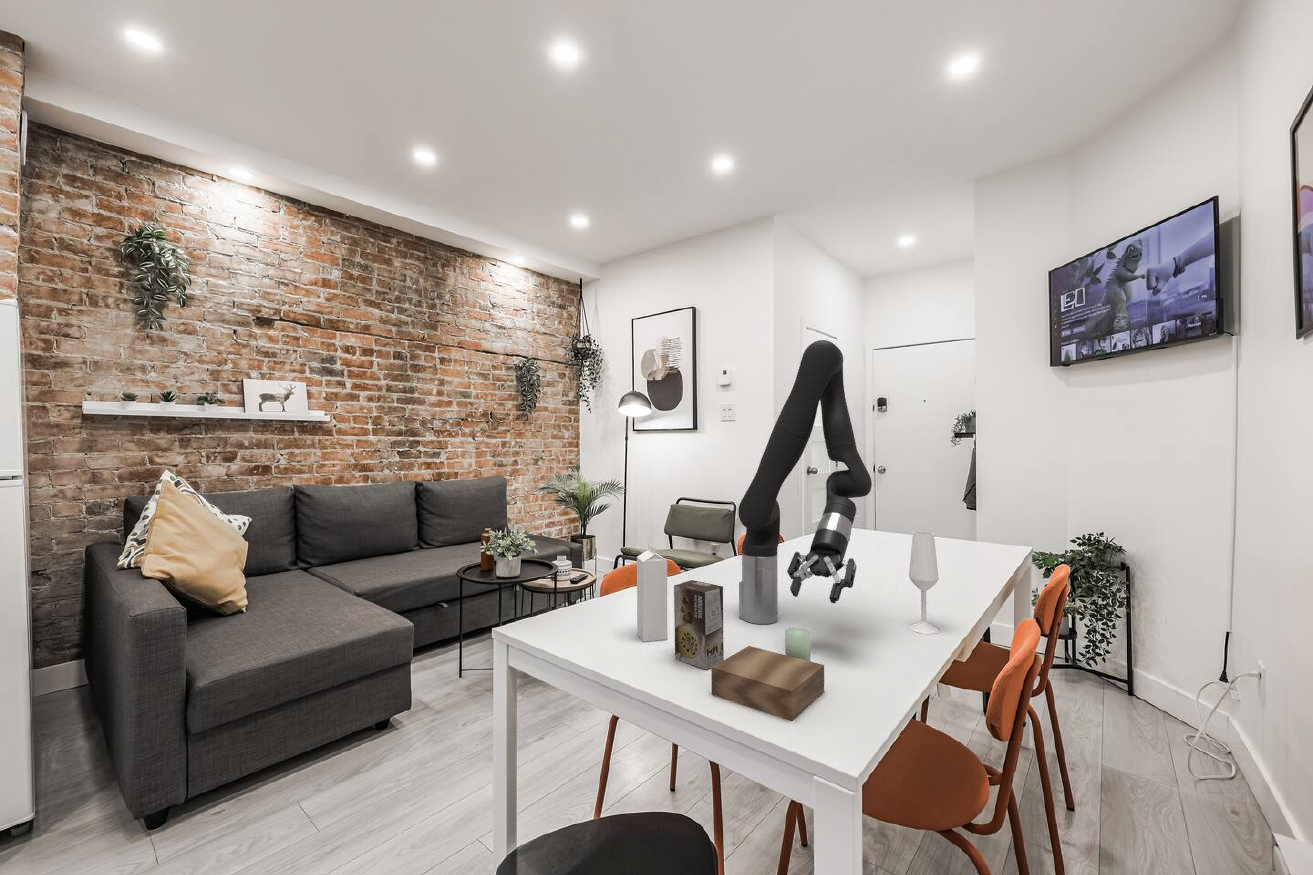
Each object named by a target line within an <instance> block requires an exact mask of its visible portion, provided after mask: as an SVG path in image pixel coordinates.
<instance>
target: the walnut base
mask: <svg viewBox="0 0 1313 875" xmlns="http://www.w3.org/2000/svg"><path fill="white" fill-rule="evenodd" d="M823 693H825V664H822V663H818V662H815V661H811V660H810V661H807V660H803V659H799V658H795V657H791V656H787V655H785V654H782V653H779V652H775V651H771V650H767V649H764V648H763V649H762V648H760V647H756V646H751V645H748V646H746V647H744V648H742V649H740V650H739V651H737V652H736V653H734V654H732V655H730V656H729V657H727V658H724V660H723V661H722V662H720V663H718V664H716V665H715V666H713V667H711V695H712V694H713V695H712V696H716V697H719V698H721V699H724V700H728V701H730V702H734V703H737V704H739V705H742V706H746V707H748V708H752V709H754V710H758V711H761V712H764V713H765V714H770V715H772V714H774V715H773V716H775V715H776V716H775V717H778V716H779V718H781V717H782V719H784V720H788V721H791V722H793V720H794V719H795V720H796V718H797V717H798V716H799V715H800V714H802V713H803V712H804V711H805V710H806V709H807V708H808V707H809V706H810V705H812V703H814V702H815V701H816V700H817V699H818V698H819V697H820V696H821V695H822V694H823Z"/></svg>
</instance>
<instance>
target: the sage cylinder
mask: <svg viewBox="0 0 1313 875" xmlns="http://www.w3.org/2000/svg"><path fill="white" fill-rule="evenodd" d="M784 635H785V636H784V637H785V638H784V643H785V644H784V646H785V647H784V655H787V656H791V657H795V658H799V659H803V660H807V661H811V631H810V630H808V629H806V628H801V627H789V628H785V631H784Z"/></svg>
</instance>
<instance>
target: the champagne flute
mask: <svg viewBox="0 0 1313 875" xmlns="http://www.w3.org/2000/svg"><path fill="white" fill-rule="evenodd" d="M908 577H909V579H910V581H911V583H912V584H913V585H914V586H915V587H916V588H918V590H920V598H921V600H920V603H921V604H920V610H921V613H920V615H921V616H920V617H921V618H920V619H921V620H920V621H919V622H917V623H915V624H911V625H910V626H909V630H911V631H913V632H916V633H919V634H924V635H925V634H926V635H927V634H928V635H934V634H938V633H939V632H940V631H939V629H937V628H936V627H934V626H933V625H931V624H930V622H927V591H928V590H930V589H932V588H933V587H934V586H936V584H937V583H938V581H939V578H940V577H939V568H938V559H937V550H936V540H935V533H934V532H932V531H918V530H917V531H912V538H911V550H910V560H909V571H908Z"/></svg>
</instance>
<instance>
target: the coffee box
mask: <svg viewBox="0 0 1313 875" xmlns="http://www.w3.org/2000/svg"><path fill="white" fill-rule="evenodd" d="M673 608H674V610H673V613H674V614H673V615H674V621H673V622H674V660H677V661H680V662H683V663H686V664H688V665H692V666H695V667H698V668H700V669H703V670H709V669H712V667H713V666H715V665H716V664H718V663H720V662H722V661H723V660H725V658H724V656H725V655H724V653H725V652H724V586H723V585H722V586H721V585H717V584H713V583H709V582H704V581H699V580H693V579H691V580H687V581H684V582H681V583H678V584H674V585H673Z"/></svg>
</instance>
